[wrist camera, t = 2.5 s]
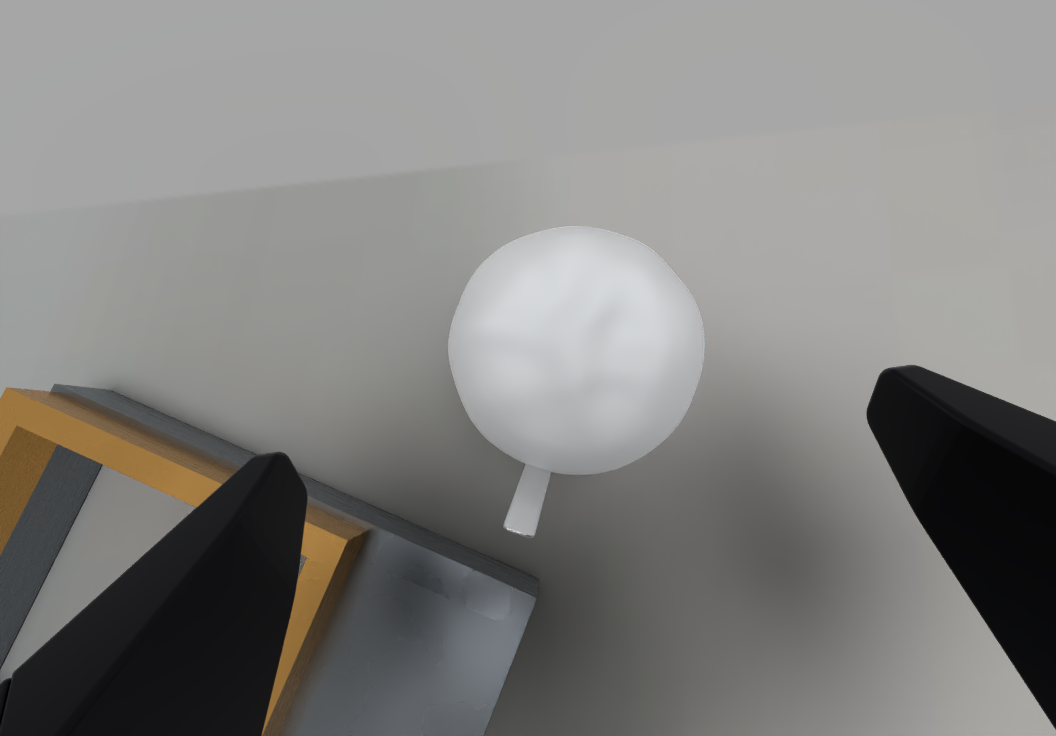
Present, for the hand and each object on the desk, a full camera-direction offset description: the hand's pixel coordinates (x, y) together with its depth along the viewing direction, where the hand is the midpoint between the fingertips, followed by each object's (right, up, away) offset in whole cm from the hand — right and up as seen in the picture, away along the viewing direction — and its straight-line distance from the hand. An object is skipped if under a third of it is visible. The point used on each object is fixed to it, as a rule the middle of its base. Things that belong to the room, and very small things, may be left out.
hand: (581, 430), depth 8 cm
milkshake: (0, 0, +10) cm, 10 cm away
